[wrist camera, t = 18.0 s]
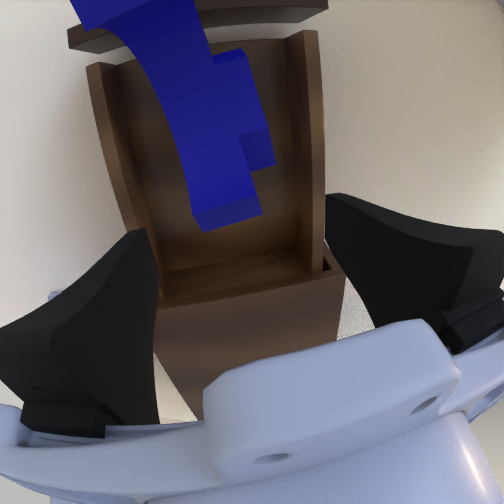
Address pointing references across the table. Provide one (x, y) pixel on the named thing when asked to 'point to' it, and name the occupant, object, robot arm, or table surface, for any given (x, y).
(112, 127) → the drawer
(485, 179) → the table surface
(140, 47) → the blue stepped block
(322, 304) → the cabinet
